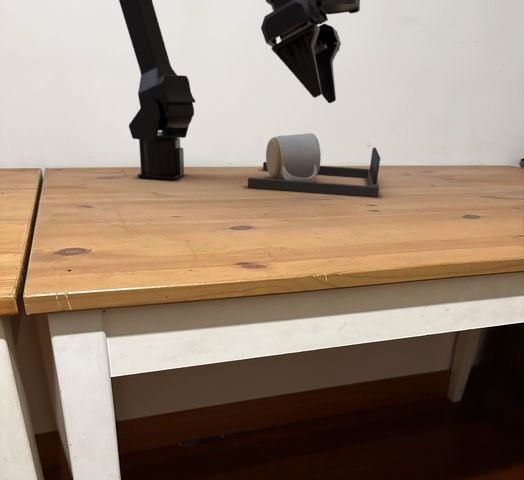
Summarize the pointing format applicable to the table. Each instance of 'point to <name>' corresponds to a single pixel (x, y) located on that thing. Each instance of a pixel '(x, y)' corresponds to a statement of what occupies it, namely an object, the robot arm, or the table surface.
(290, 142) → the ceramic mug
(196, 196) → the table surface
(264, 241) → the table surface
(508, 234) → the table surface
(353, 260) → the table surface
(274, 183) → the dish rack
